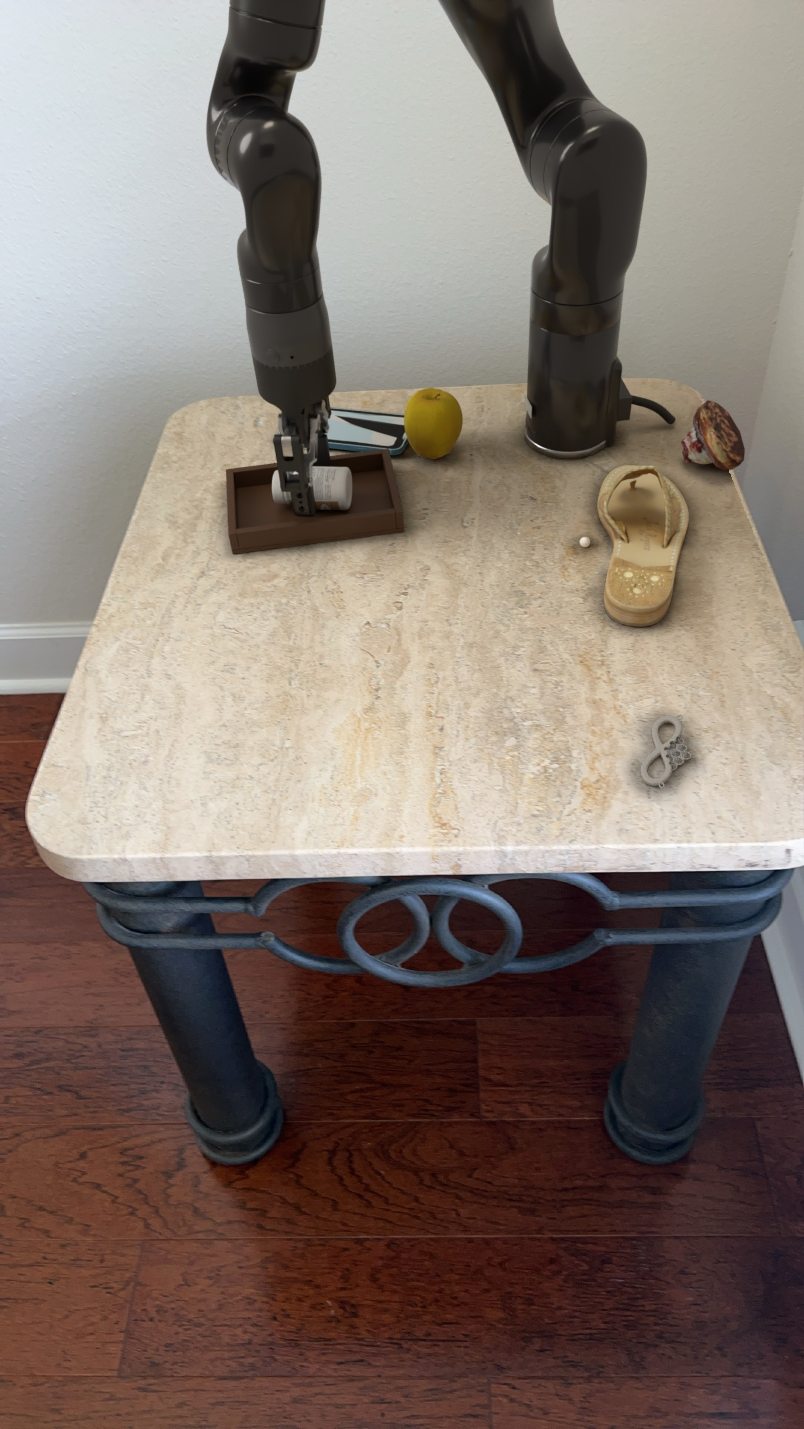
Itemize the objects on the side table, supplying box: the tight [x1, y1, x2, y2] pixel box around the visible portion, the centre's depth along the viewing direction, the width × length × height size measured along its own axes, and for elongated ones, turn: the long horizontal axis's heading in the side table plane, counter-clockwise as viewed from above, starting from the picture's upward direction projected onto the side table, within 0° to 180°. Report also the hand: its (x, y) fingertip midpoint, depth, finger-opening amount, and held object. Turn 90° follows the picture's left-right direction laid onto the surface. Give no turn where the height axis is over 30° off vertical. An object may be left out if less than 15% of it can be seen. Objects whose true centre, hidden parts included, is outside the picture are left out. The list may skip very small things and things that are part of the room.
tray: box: [225, 449, 405, 555], centre depth 109 cm, size 18×12×2 cm, turn 98°
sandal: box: [596, 464, 690, 627], centre depth 100 cm, size 13×23×8 cm, turn 150°
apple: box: [403, 387, 464, 460], centre depth 112 cm, size 6×6×8 cm
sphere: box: [579, 536, 598, 596], centre depth 101 cm, size 1×8×1 cm, turn 3°
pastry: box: [679, 399, 746, 471], centre depth 110 cm, size 8×8×5 cm
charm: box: [640, 714, 692, 789], centre depth 84 cm, size 8×1×4 cm
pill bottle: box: [272, 466, 352, 510], centre depth 108 cm, size 4×4×8 cm
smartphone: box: [277, 406, 409, 456], centre depth 119 cm, size 7×1×15 cm
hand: (313, 489), depth 108 cm, fingers open, 8 cm apart
